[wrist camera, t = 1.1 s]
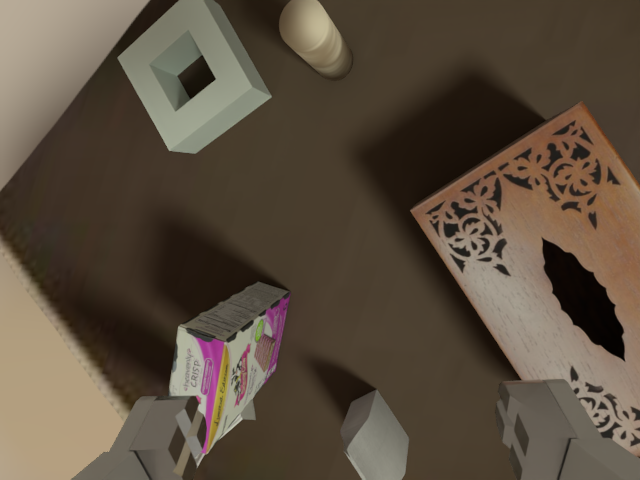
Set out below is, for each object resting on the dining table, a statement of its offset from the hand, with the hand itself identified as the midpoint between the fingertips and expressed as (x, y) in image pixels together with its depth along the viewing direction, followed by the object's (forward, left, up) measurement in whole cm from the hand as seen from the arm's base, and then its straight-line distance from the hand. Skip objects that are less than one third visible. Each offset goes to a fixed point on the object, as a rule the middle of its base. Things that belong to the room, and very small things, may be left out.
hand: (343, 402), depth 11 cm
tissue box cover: (-10, +9, -34) cm, 37 cm away
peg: (-2, -21, -34) cm, 40 cm away
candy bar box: (+21, +1, -34) cm, 40 cm away
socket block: (+12, -28, -34) cm, 45 cm away
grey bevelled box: (+14, +17, -34) cm, 41 cm away
